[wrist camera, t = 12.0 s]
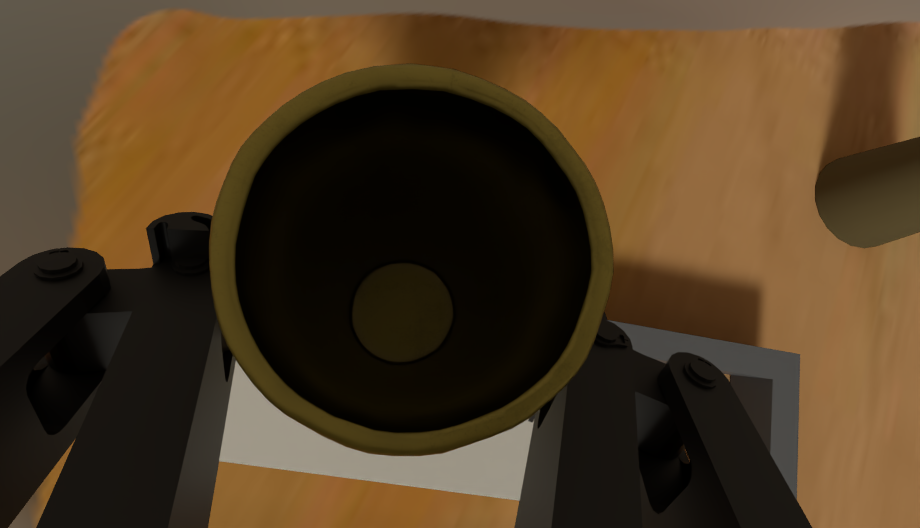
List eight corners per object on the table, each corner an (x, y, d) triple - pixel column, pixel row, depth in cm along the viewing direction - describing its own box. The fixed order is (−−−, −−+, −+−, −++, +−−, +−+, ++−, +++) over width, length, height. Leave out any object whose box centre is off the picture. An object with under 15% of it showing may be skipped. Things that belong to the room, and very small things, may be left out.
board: (568, 203, 26) (576, 196, 25) (532, 495, 24) (539, 503, 22) (288, 145, 25) (283, 135, 24) (212, 452, 22) (201, 458, 21)
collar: (755, 352, 27) (799, 354, 24) (747, 549, 25) (794, 578, 22) (583, 322, 25) (607, 319, 22) (560, 525, 23) (583, 552, 21)
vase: (498, 329, 20) (731, 303, 6) (383, 415, 19) (351, 624, 5) (420, 217, 21) (475, -41, 7) (301, 295, 19) (56, 176, 5)
